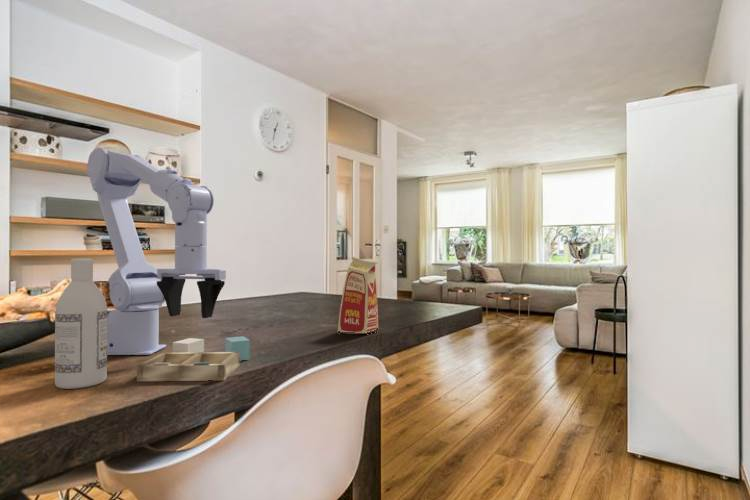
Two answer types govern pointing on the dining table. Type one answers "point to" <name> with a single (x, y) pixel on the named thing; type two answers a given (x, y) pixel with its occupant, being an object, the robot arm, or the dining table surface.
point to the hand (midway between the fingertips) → (190, 316)
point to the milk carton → (359, 298)
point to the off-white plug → (189, 345)
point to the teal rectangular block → (239, 347)
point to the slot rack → (188, 366)
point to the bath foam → (81, 330)
